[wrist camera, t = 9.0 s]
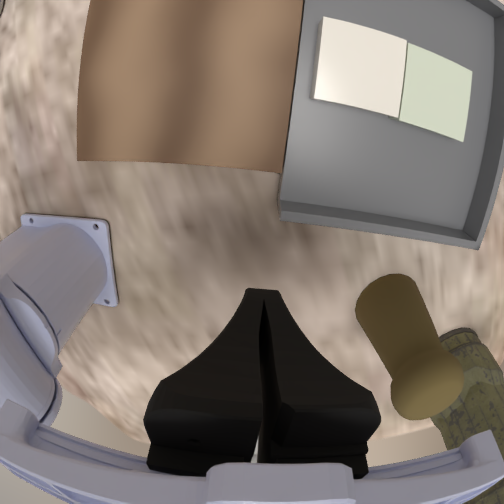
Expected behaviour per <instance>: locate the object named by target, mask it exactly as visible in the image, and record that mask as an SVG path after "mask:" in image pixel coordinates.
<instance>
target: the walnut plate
mask: <svg viewBox="0 0 504 504" xmlns="http://www.w3.org/2000/svg"><path fill="white" fill-rule="evenodd" d="M302 6H303V0H91V1H90V5H89V10H88V16H87V21H86V27H85V33H84V40H83V47H82V55H81V64H80V75H79V87H78V105H77V161H137V162H161V163H179V164H194V165H207V166H219V167H230V168H240V169H250V170H259V171H267V172H275V173H282V166H283V159H284V152H285V144H286V137H287V129H288V122H289V114H290V106H291V99H292V91H293V83H294V75H295V66H296V58H297V50H298V41H299V33H300V24H301V15H302Z"/></svg>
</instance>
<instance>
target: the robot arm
mask: <svg viewBox="0 0 504 504" xmlns="http://www.w3.org/2000/svg"><path fill="white" fill-rule="evenodd" d="M32 219H33V220H32ZM33 221H34V222H33ZM21 224H22V226H21V227H20V228H18V229H17V230H16V231H14V232H13V233H11V234H10V235H9V236H7V237H6V238H4V239H3V240H2V241H0V463H1V464H2V465H3V466H5V467H6V468H7V469H8V470H9V471H11V472H12V473H13V474H15V475H16V476H18V477H19V478H21V479H23V480H25V481H26V482H28V483H30V484H32V485H34V486H35V487H37V488H39V489H41V490H43V491H45V492H47V493H49V494H51V495H53V496H55V497H57V498H59V499H61V500H63V501H65V502H67V503H69V504H462V503H464V502H467V501H469V500H471V499H473V498H474V497H476V496H478V495H479V494H481V493H482V492H484V491H485V490H487V489H488V488H490V487H491V486H493V485H494V484H495V483H497V482H498V481H500V480H501V479H502V478H504V461H503V458H502V455H501V453H500V450H499V448H498V446H497V443H496V441H495V438H494V436H493V434H492V431H491V430H487V431H484V432H481V433H478V434H475V435H473V436H471V437H469V438H468V439H466V440H465V441H464V442H463V443H462V444H461V445H460V447H458V448H454V449H451V450H448V451H444V452H441V453H437V454H433V455H430V456H425V457H421V458H417V459H412V460H408V461H403V462H399V463H393V464H387V465H381V466H375V467H368V465H367V460H366V455H365V454H367V452H368V446H367V441H368V440H369V438H370V437H371V436H372V435H373V433H374V432H375V431H376V429H377V428H378V426H379V425H380V423H381V415H380V412H379V408H378V406H377V403H376V401H375V398H374V396H373V394H372V392H371V391H369V390H367V389H366V388H364V387H362V386H361V385H359V384H358V383H356V382H354V381H353V380H351V379H350V378H348V377H347V376H346V375H344V374H343V373H342V372H340V371H339V370H338V369H337V368H335V367H334V366H333V365H332V364H331V363H330V362H329V361H328V360H326V359H325V358H324V357H323V356H322V355H321V354H320V353H319V352H318V351H317V350H316V348H315V347H314V346H313V345H312V344H311V343H310V341H309V340H308V339H307V338H306V336H305V335H304V334H303V332H302V331H301V329H300V328H299V326H298V325H297V323H296V322H295V320H294V319H293V317H292V315H291V314H290V312H289V310H288V308H287V307H286V305H285V303H284V301H283V299H282V296H281V294H280V292H279V291H278V290H267V289H255V288H248V289H246V290H245V294H244V297H243V299H242V301H241V303H240V305H239V307H238V309H237V311H236V312H235V314H234V316H233V317H232V319H231V320H230V321H229V323H228V324H227V326H226V327H225V328H224V330H223V331H222V332H221V333H220V335H219V336H218V337H217V338H216V339H215V340H214V341H213V342H212V343H211V344H210V345H209V346H208V347H207V348H206V349H205V350H204V351H203V352H202V353H201V354H200V355H199V356H197V357H196V358H195V359H193V360H192V361H191V362H190V363H188V364H187V365H186V366H184V367H183V368H181V369H180V370H178V371H177V372H175V373H173V374H172V375H170V376H168V377H167V378H165V379H163V380H161V381H160V383H159V384H158V386H157V388H156V389H155V391H154V393H153V395H152V397H151V399H150V401H149V403H148V406H147V409H146V412H145V416H144V419H143V421H144V426H145V429H146V431H147V434H148V437H149V439H150V441H151V445H150V449H149V454H148V457H147V458H146V457H141V456H137V455H133V454H129V453H125V452H122V451H118V450H115V449H111V448H108V447H104V446H101V445H98V444H95V443H92V442H89V441H86V440H83V439H80V438H77V437H75V436H72V435H69V434H67V433H64V432H61V431H59V430H56V429H54V428H52V427H50V426H51V425H52V423H53V422H54V420H55V418H56V416H57V414H58V412H59V409H60V406H61V403H62V388H61V385H60V383H59V381H58V380H57V379H56V377H57V375H58V373H59V372H60V370H61V368H62V364H61V362H60V360H59V358H58V355H59V353H60V352H61V350H62V349H63V347H64V346H65V344H66V342H67V341H68V339H69V338H70V336H71V335H72V333H73V332H74V330H75V329H76V327H77V326H78V324H79V323H80V321H81V320H82V318H83V317H84V315H85V314H86V312H87V311H88V310H89V308H90V307H91V305H92V304H93V303H95V304H100V305H105V306H110V307H116V306H117V304H118V296H117V290H116V283H115V276H114V269H113V261H112V253H111V244H110V234H109V225H108V223H107V222H106V221H105V220H100V219H88V218H77V217H65V216H52V215H40V214H27V213H25V214H23V215H22V216H21ZM95 224H97V225H98V227H99V228H97V227H96V226H95ZM106 299H107V300H108V301H107V300H106ZM257 440H258V453H257V463H251V460H252V457H253V455H254V452H255V448H256V444H257Z"/></svg>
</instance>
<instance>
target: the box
mask: <svg viewBox="0 0 504 504" xmlns="http://www.w3.org/2000/svg"><path fill="white" fill-rule="evenodd" d="M323 16H324V17H328V18H333V19H337V20H342V21H346V22H350V23H354V24H357V25H361V26H365V27H368V28H372V29H375V30H378V31H381V32H385V33H388V34H391V35H394V36H396V37H399V38H402V39H405V40H407V43H410V44H413V45H416V46H418V47H421V48H423V49H426V50H428V51H430V52H433V53H435V54H437V55H440V56H442V57H444V58H446V59H448V60H450V61H453V62H455V63H457V64H459V65H461V66H463V67H465V68H467V69H469V70H470V71H472V82H471V93H470V101H469V109H468V116H467V123H466V129H465V135H464V141H463V142H461V141H457V140H454V139H451V138H448V137H445V136H442V135H440V134H437V133H434V132H431V131H428V130H425V129H422V128H419V127H416V126H412V125H409V124H406V123H402V122H399V121H396V120H392V119H389V116H385V115H381V114H377V113H374V112H370V111H366V110H361V109H357V108H353V107H348V106H344V105H339V104H334V103H329V102H324V101H318V100H313V99H310V93H311V85H312V77H313V69H314V61H315V52H316V43H317V34H318V25H319V22H320V21H321V19H322V18H323ZM503 167H504V5H503V4H502V3H501V2H499V1H498V0H303V6H302V15H301V24H300V33H299V41H298V50H297V58H296V66H295V75H294V83H293V91H292V99H291V106H290V114H289V122H288V129H287V137H286V144H285V152H284V159H283V166H282V173H281V177H280V184H279V192H278V199H277V205H278V211H279V218H280V221H288V222H296V223H304V224H312V225H320V226H327V227H335V228H342V229H349V230H356V231H363V232H370V233H377V234H384V235H391V236H397V237H404V238H410V239H416V240H422V241H429V242H435V243H441V244H446V245H452V246H458V247H464V248H469V249H475V250H479V248H480V245H481V242H482V240H483V237H484V234H485V231H486V228H487V225H488V222H489V219H490V216H491V213H492V209H493V206H494V203H495V199H496V195H497V192H498V188H499V184H500V180H501V176H502V172H503Z"/></svg>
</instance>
